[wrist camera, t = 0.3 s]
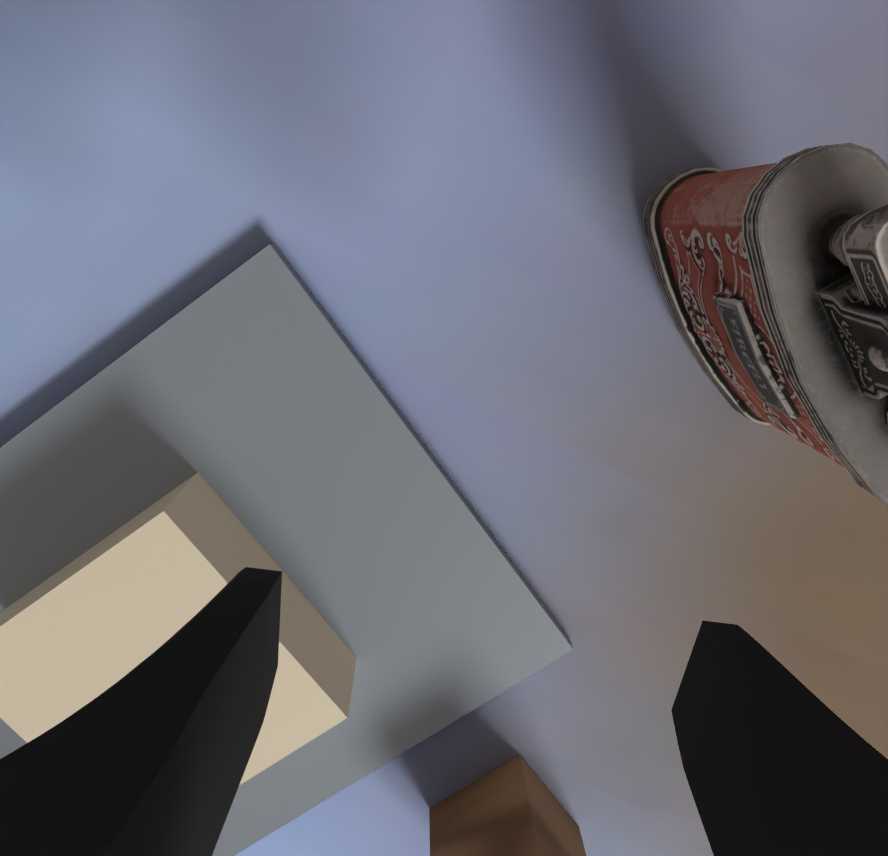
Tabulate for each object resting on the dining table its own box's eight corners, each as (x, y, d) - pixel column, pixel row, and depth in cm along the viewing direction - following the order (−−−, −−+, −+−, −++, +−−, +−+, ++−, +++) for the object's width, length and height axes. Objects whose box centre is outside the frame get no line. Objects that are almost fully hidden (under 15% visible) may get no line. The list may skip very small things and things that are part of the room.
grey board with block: (126, 909, 27) (83, 1009, 24) (-209, 607, 23) (-319, 674, 20) (569, 639, 24) (593, 708, 21) (273, 243, 20) (243, 248, 17)
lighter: (616, 209, 20) (784, 203, 11) (723, 144, 20) (996, 77, 10) (733, 437, 23) (961, 601, 13) (832, 383, 22) (1143, 509, 13)
